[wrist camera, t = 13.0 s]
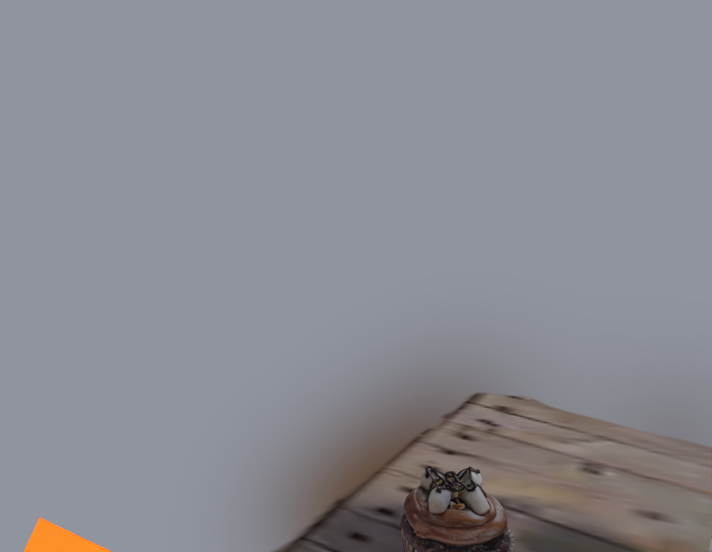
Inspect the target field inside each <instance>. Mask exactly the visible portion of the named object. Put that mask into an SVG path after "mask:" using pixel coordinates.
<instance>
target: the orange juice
mask: <svg viewBox="0 0 712 552" xmlns="http://www.w3.org/2000/svg"><path fill="white" fill-rule="evenodd" d="M24 552H111V551H109V550H107V549H105V548H103V547H101V546H99V545H96V544H94V543H92V542H90V541H88V540H86V539H84V538H82V537H79V536H78V535H75V534H73V533H71V532H69V531H67V530H65V529H63V528H60V527H58V526H56V525H54V524H52V523H50V522H48V521H46V520H44V519H42V518H39V520H38V523H37V525H36V527H35V529H34V531H33V533H32V535H31V537H30V540H29V542H28V544H27V546H26V548H25V550H24Z"/></svg>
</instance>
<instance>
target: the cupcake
mask: <svg viewBox="0 0 712 552" xmlns="http://www.w3.org/2000/svg"><path fill="white" fill-rule="evenodd" d="M425 471H426V472H424V473H423V474H422V476H421V485H420V486H418V487H417V488H416V489H414V490H413V491H411V493H410V494H409V495H408V496H407V497H406V500H405V503H404V510H405V513H404V514H403V517H402V521H401V524H400V526H401V533H402V538H403V546H404V551H405V552H513V551H514V545H515V543H514V537H512V536H513V533H509V532H510V528H507V518H506V514H505V512H504V510H503V508H502V506H501V505H500V503H499V502H498V501H497V500H496V499H495V498H494V497H492V496H490V495H489V494H487V493H486V492H485V491H484V490H483V489H482V488H481V487H480V486H481V484H482V477H481V475H480V474H479V473H480V471H479V470H475V469H473V468H472V467H470V466H469V468H466V469H463V470H461V471H460V472H459V473H458V474H456V473H455V472H454V471H449V472H446V474H445V473H442V472H440V471H437V470H435V469H434V468H432V467H431V466H429V467H427V468H426V469H425Z"/></svg>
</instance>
